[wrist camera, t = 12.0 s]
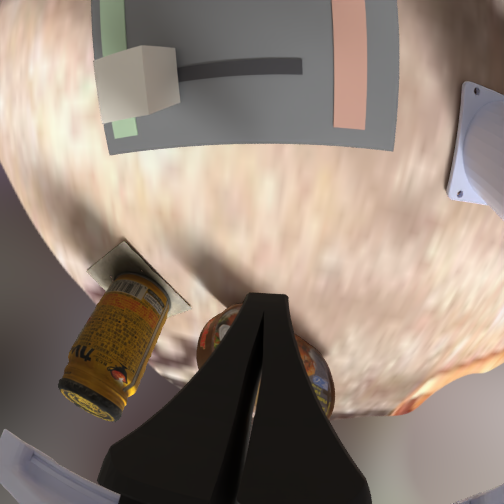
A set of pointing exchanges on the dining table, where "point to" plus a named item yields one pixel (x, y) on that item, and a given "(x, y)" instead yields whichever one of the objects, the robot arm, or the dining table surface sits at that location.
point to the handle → (136, 82)
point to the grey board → (261, 71)
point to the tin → (309, 355)
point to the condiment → (118, 334)
